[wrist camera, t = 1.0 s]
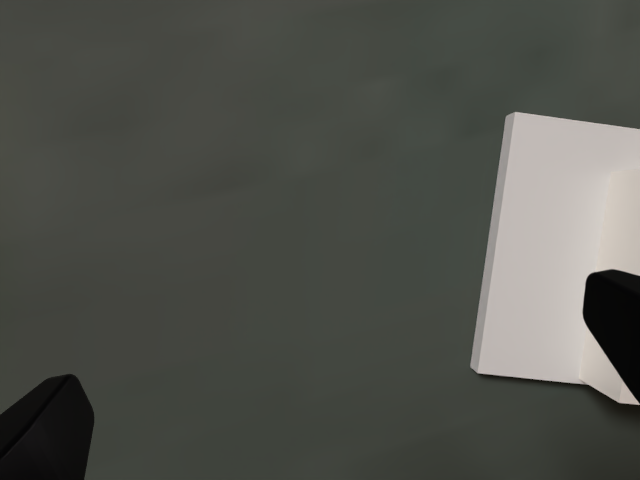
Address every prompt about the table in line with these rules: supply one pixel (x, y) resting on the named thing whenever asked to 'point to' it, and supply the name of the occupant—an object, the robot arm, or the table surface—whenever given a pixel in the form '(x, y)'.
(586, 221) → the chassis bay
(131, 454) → the table surface
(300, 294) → the table surface
